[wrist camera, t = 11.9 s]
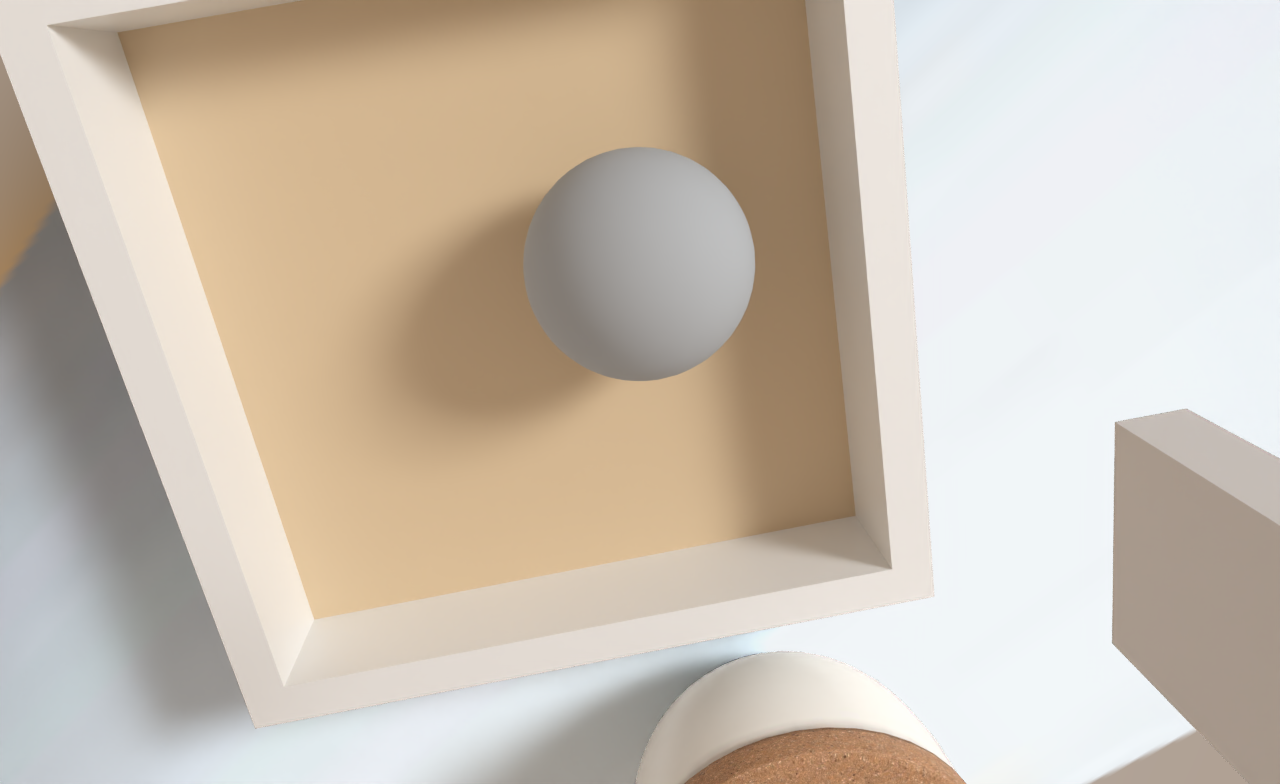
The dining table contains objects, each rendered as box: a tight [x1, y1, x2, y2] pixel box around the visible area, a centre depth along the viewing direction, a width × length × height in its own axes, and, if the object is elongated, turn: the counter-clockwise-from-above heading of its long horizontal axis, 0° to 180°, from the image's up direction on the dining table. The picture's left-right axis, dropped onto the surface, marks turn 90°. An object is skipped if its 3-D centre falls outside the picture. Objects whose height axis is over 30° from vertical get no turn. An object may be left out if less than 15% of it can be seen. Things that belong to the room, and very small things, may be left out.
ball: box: [523, 147, 755, 381], centre depth 24 cm, size 6×6×6 cm
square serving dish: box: [0, 0, 934, 729], centre depth 26 cm, size 20×20×4 cm
